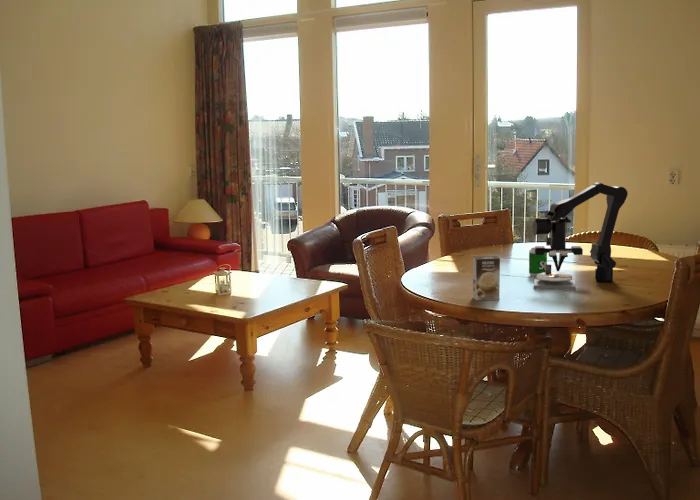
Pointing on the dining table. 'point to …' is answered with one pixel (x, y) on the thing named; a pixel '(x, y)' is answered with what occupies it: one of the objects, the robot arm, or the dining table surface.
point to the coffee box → (486, 277)
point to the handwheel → (553, 275)
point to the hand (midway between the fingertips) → (557, 271)
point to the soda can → (536, 263)
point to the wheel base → (554, 285)
